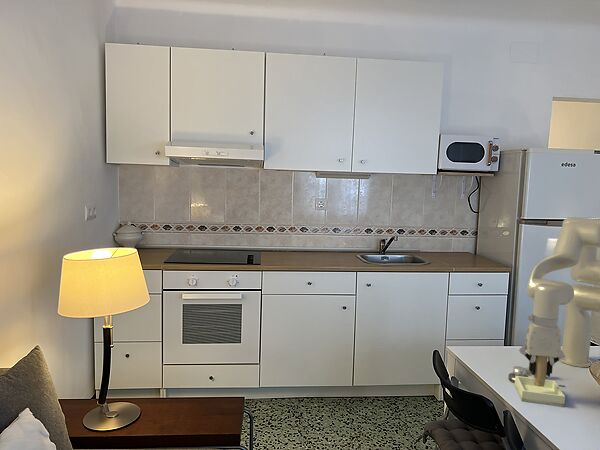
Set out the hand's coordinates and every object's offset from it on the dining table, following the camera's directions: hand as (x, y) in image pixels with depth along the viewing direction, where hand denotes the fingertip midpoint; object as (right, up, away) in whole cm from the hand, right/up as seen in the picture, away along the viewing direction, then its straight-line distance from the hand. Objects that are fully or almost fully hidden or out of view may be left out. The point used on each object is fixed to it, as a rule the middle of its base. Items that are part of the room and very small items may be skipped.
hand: (540, 373), depth 160 cm
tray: (0, -8, +1) cm, 8 cm away
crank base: (+4, -7, +11) cm, 14 cm away
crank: (+3, -5, +14) cm, 15 cm away
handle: (0, -4, 0) cm, 4 cm away
